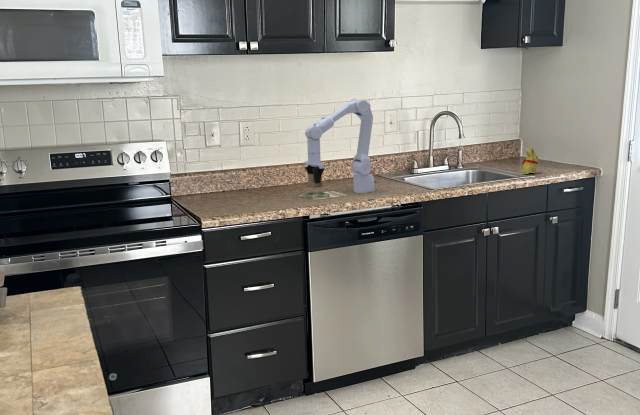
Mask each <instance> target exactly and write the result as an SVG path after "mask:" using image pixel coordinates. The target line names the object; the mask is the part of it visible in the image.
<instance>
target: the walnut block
mask: <svg viewBox="0 0 640 415" xmlns="http://www.w3.org/2000/svg"><path fill="white" fill-rule="evenodd" d="M322 176H323V175H322ZM322 176H321V180H320V183H317V184H316V183H315V179H314V174H313V173H310V174H308V173H307V179H308V180H307V182H308V188H312V189H317V188H321V187H322V188H323V180H322V179H323V178H322Z"/></svg>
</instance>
